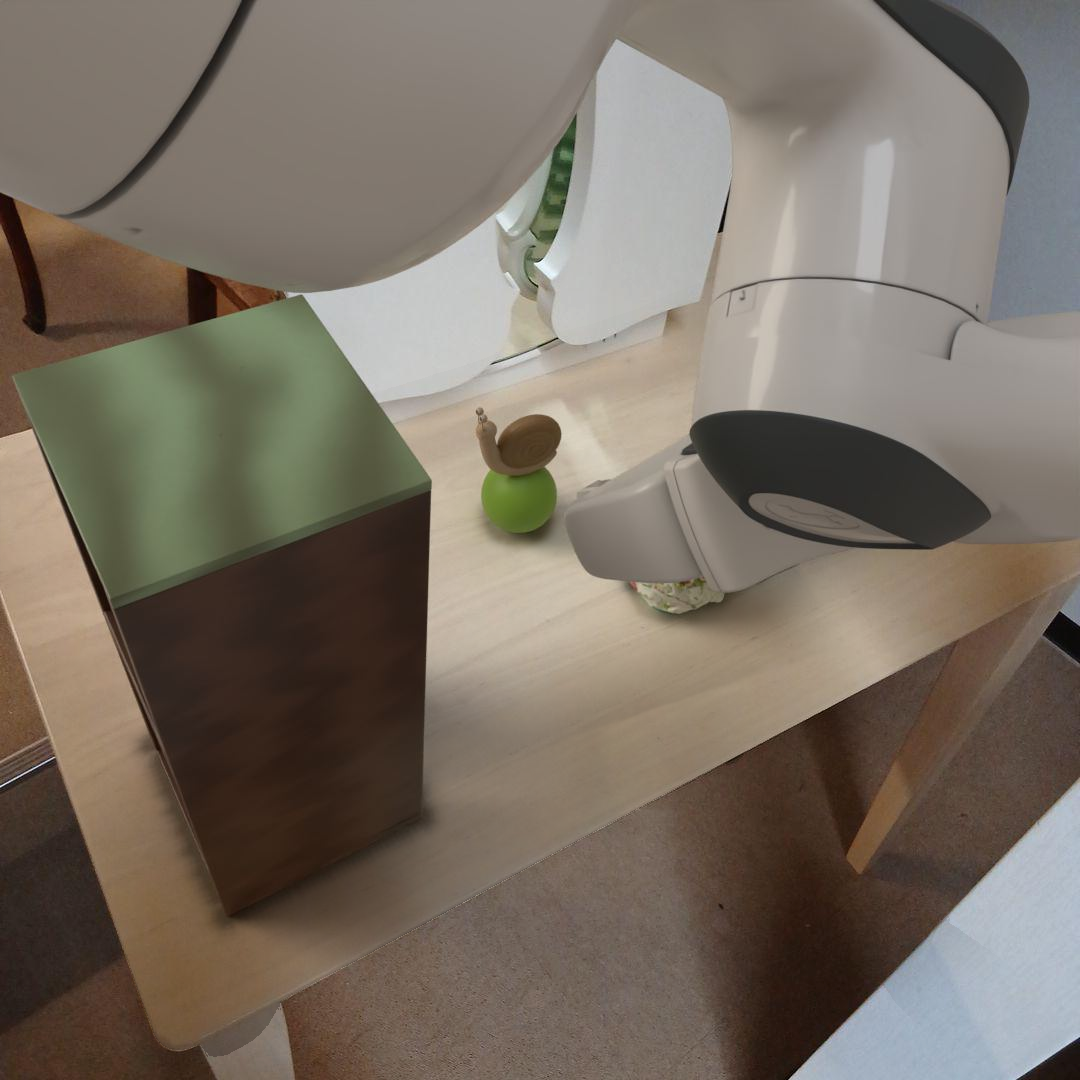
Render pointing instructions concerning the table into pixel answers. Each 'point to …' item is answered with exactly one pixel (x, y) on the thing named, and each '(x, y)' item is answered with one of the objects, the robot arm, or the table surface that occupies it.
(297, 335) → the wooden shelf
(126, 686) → the table surface
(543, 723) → the table surface
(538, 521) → the snail figurine
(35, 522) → the table surface
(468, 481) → the table surface
